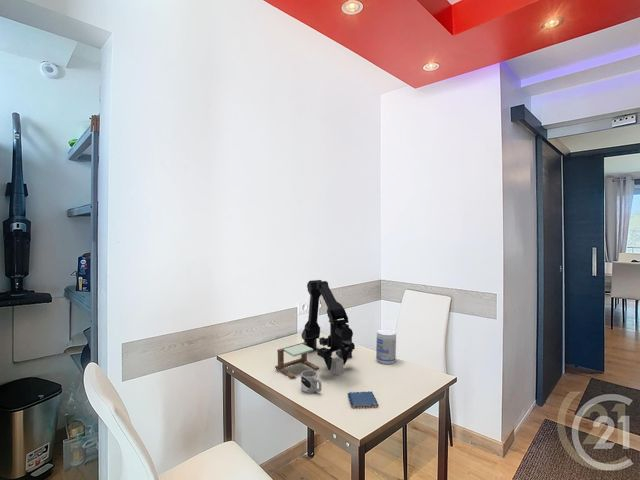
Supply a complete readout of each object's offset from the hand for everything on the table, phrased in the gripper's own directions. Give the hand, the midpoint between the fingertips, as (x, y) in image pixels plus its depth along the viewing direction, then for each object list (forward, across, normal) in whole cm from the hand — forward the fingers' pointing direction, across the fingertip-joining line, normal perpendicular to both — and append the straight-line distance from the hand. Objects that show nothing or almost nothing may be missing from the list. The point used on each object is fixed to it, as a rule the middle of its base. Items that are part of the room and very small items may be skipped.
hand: (336, 367), depth 152 cm
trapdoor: (-7, +12, -13) cm, 19 cm away
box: (+3, -16, -12) cm, 20 cm away
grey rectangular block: (+2, 0, 0) cm, 2 cm away
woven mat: (+3, +9, +25) cm, 27 cm away
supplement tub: (+3, -28, +6) cm, 29 cm away
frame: (+2, +12, -14) cm, 19 cm away
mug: (+3, +19, +6) cm, 20 cm away
